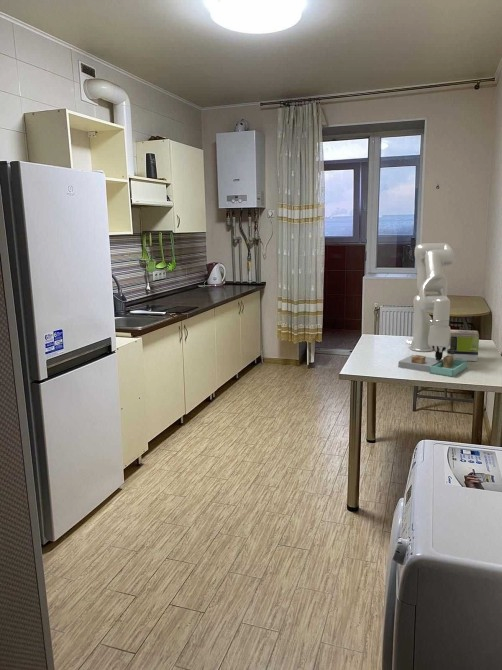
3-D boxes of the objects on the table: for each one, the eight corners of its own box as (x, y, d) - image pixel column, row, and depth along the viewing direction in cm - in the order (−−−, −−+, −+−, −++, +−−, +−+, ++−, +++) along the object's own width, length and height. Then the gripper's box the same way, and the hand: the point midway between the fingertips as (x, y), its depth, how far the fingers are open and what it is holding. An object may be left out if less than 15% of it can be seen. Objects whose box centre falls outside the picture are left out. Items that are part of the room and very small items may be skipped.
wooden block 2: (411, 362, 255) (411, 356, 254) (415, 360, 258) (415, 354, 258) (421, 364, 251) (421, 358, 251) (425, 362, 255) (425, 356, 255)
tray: (429, 373, 246) (429, 366, 246) (444, 364, 261) (445, 357, 260) (452, 377, 239) (453, 369, 239) (467, 368, 254) (467, 361, 253)
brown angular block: (443, 357, 253) (449, 358, 251) (447, 355, 257) (453, 356, 255) (443, 367, 254) (449, 368, 252) (446, 365, 258) (452, 366, 256)
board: (398, 367, 258) (398, 361, 257) (412, 360, 271) (412, 354, 270) (429, 372, 248) (430, 366, 247) (442, 365, 260) (443, 359, 260)
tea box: (476, 357, 274) (478, 330, 272) (477, 362, 265) (479, 333, 262) (446, 355, 279) (447, 328, 276) (446, 360, 270) (448, 332, 267)
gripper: (422, 322, 255) (421, 358, 259) (453, 326, 246) (451, 363, 250) (428, 320, 261) (427, 355, 265) (458, 323, 251) (456, 360, 255)
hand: (438, 359), depth 257 cm, fingers closed
